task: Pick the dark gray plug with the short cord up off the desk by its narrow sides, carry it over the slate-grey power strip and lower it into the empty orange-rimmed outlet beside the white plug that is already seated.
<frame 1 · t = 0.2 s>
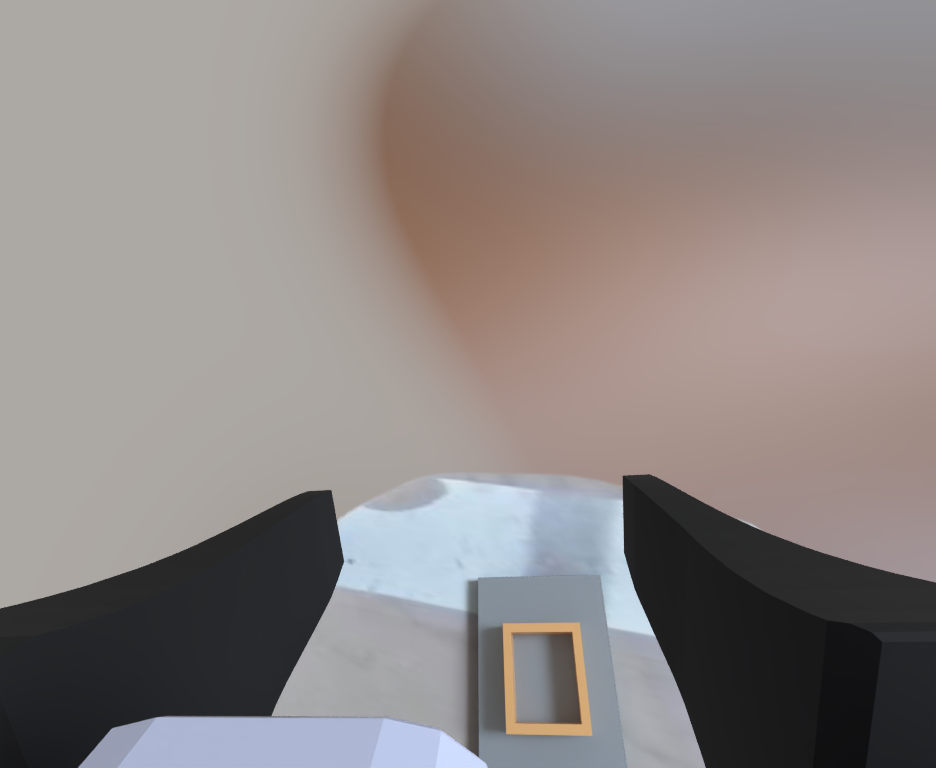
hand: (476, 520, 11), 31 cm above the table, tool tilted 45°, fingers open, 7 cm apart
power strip: (551, 760, 33), on the table
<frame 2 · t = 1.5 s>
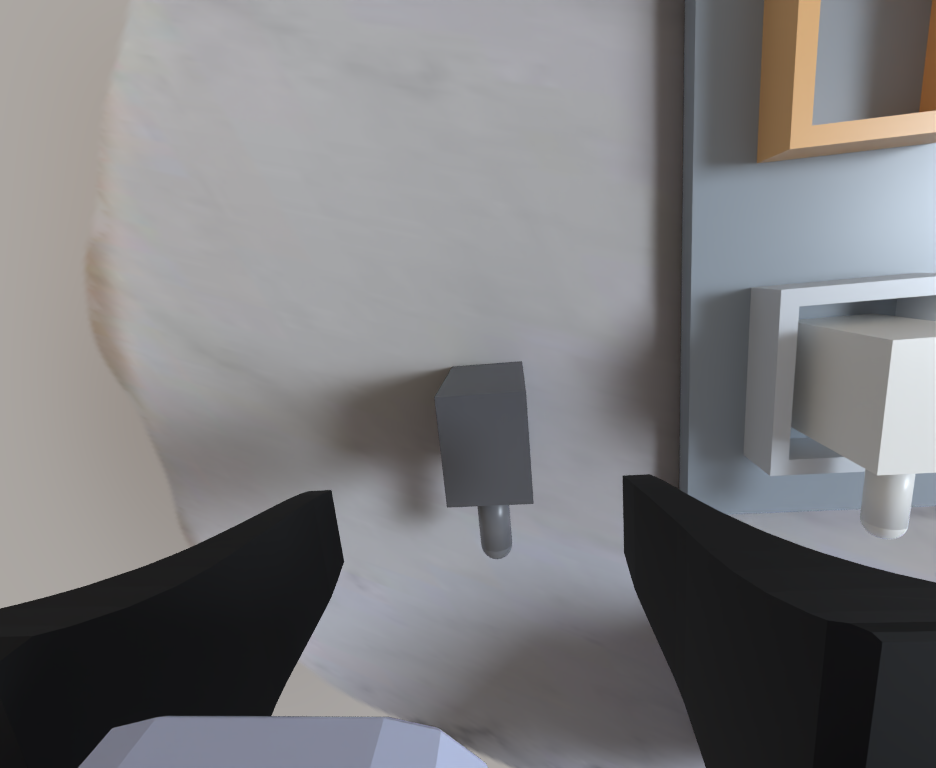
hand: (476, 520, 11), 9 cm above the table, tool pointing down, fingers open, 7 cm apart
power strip: (821, 207, 17), on the table
dark gray plug: (490, 408, 20), on the table
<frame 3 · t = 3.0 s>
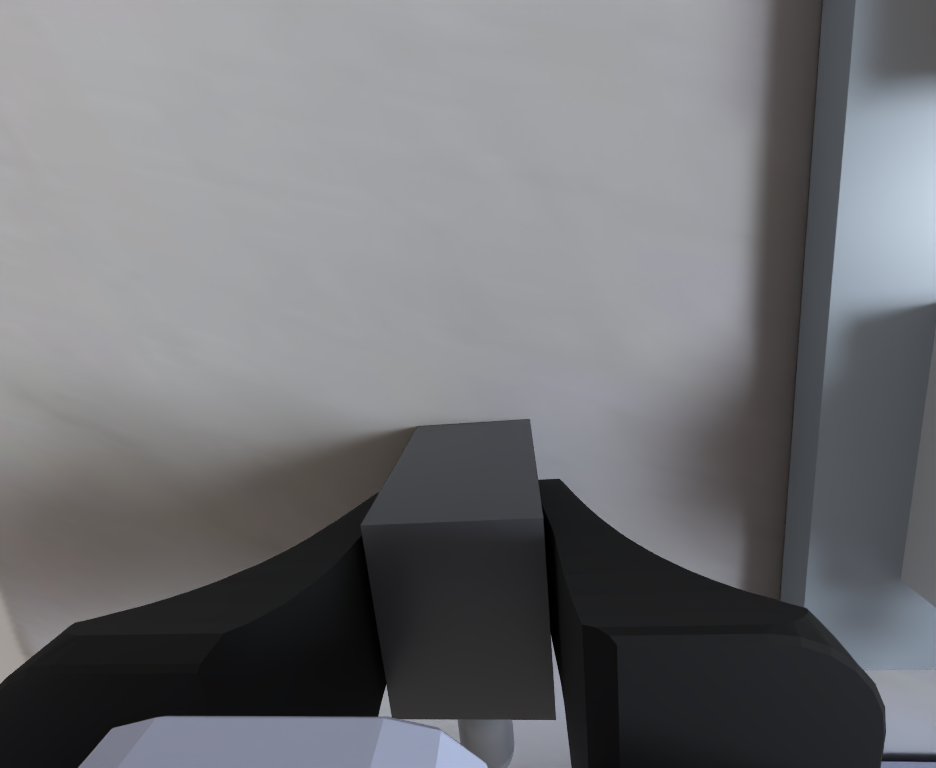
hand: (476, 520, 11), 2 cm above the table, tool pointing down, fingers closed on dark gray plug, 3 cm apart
dark gray plug: (479, 491, 13), on the table, touching gripper
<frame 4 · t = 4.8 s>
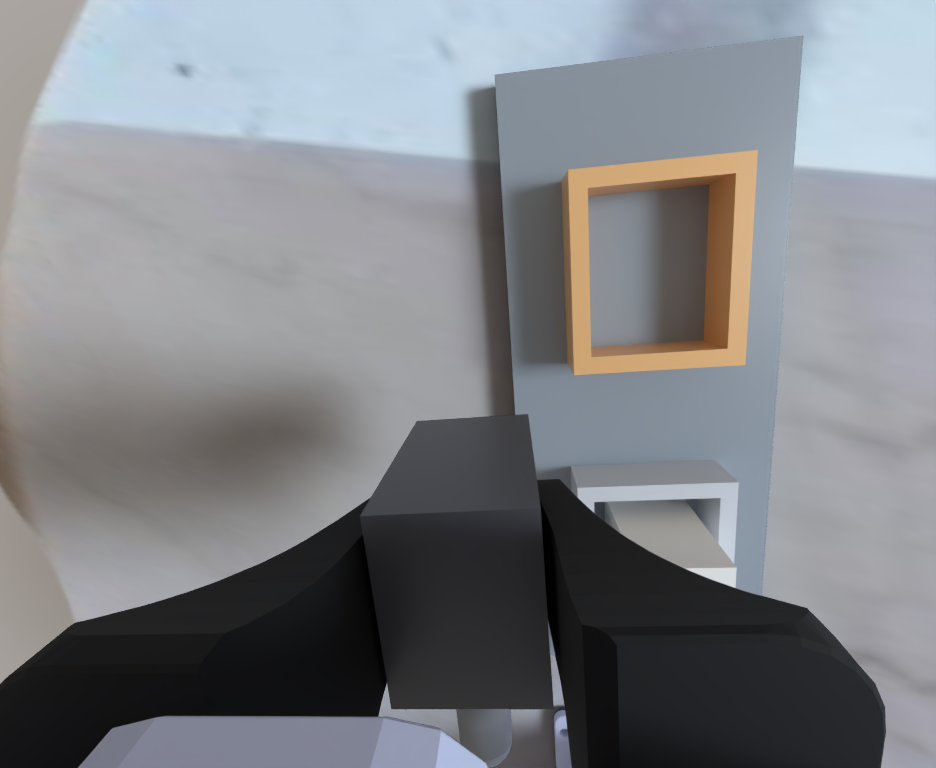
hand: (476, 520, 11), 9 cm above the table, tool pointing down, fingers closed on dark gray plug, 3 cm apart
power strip: (635, 394, 19), on the table
dark gray plug: (478, 486, 13), point 7 cm above the table, touching gripper
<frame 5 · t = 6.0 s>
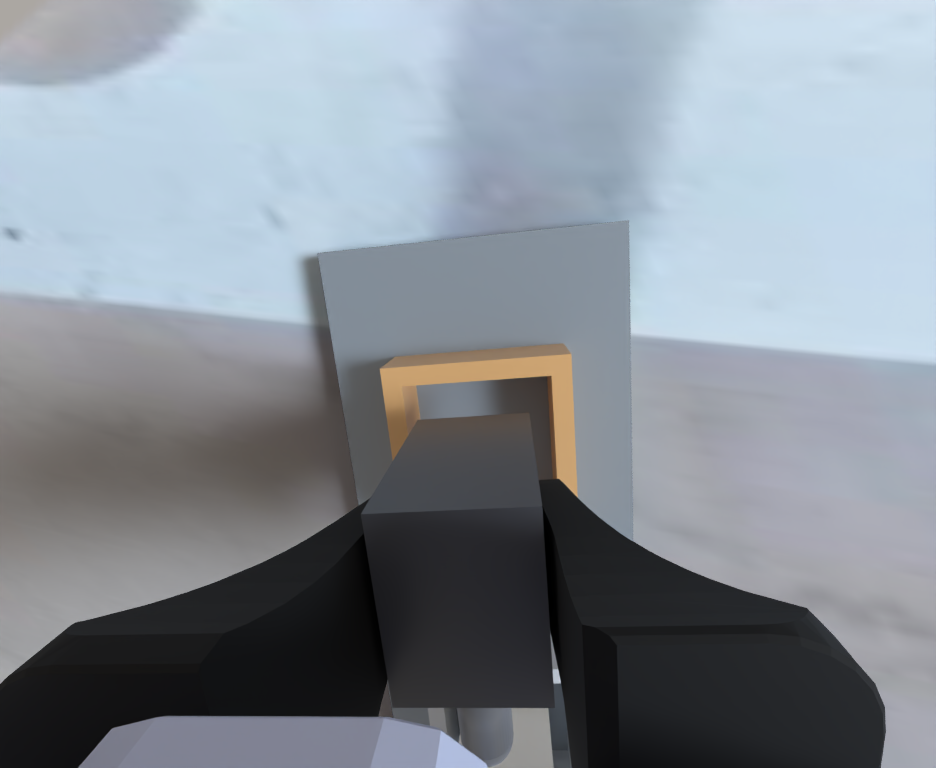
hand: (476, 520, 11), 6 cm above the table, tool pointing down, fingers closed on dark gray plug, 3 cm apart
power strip: (498, 552, 19), on the table
dark gray plug: (479, 484, 13), point 5 cm above the table, touching gripper
when the fingers open (4 cm above the table, at t = 6.8 s): dark gray plug drops 1 cm, resting on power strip.
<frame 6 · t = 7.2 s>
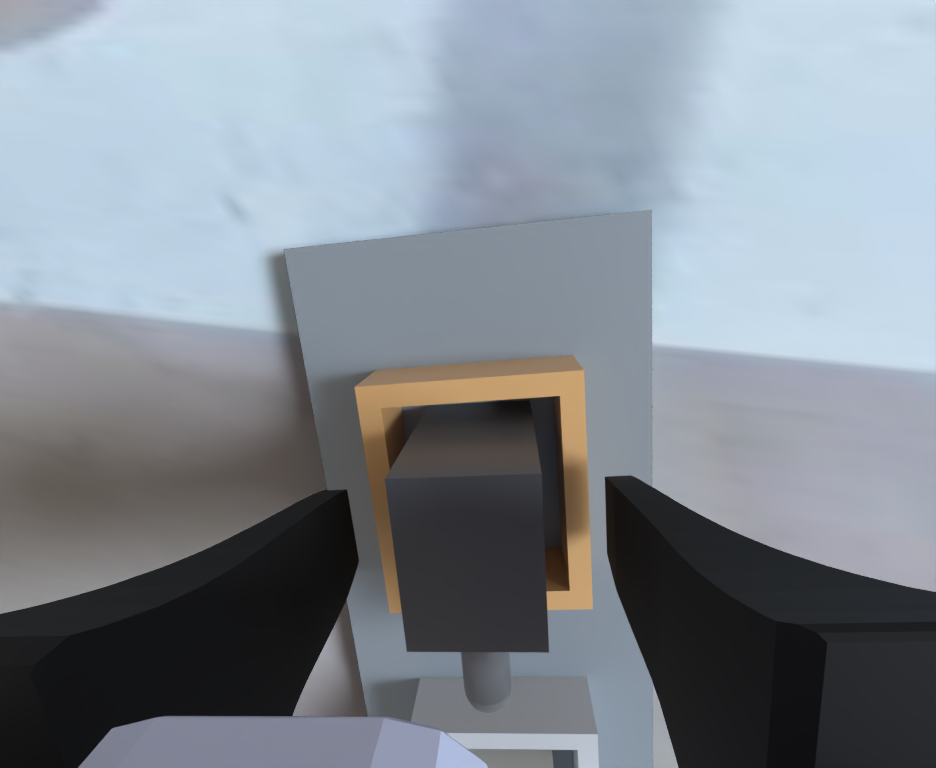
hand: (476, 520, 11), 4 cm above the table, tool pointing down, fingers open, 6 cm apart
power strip: (496, 590, 16), on the table
dark gray plug: (483, 466, 14), point 1 cm above the table, touching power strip
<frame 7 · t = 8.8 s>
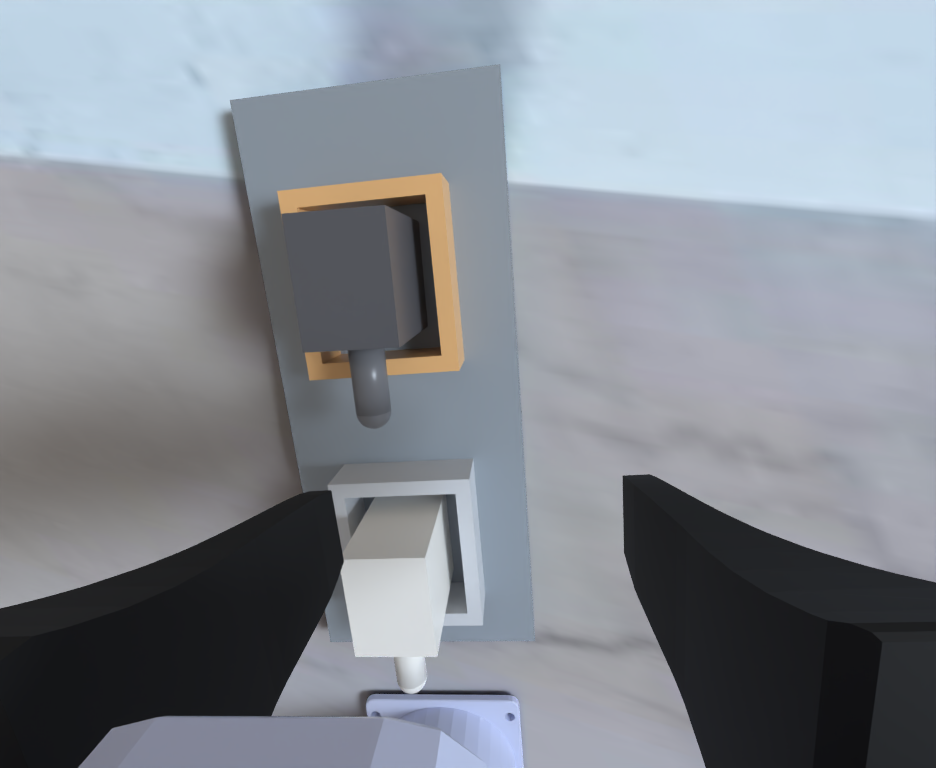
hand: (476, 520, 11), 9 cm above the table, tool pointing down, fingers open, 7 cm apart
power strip: (405, 396, 21), on the table
dark gray plug: (385, 277, 18), point 1 cm above the table, touching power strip
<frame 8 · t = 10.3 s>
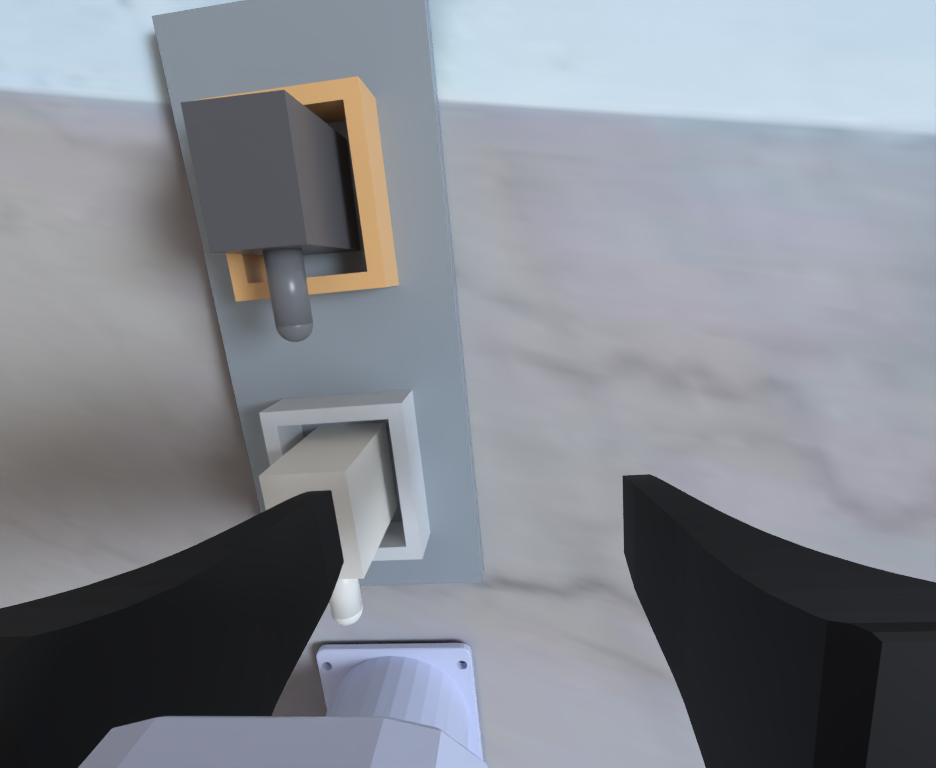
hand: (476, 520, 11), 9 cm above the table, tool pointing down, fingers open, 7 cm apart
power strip: (345, 329, 20), on the table
dark gray plug: (316, 200, 18), point 1 cm above the table, touching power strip
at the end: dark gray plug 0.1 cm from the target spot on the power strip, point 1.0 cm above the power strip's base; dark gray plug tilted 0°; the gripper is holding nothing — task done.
